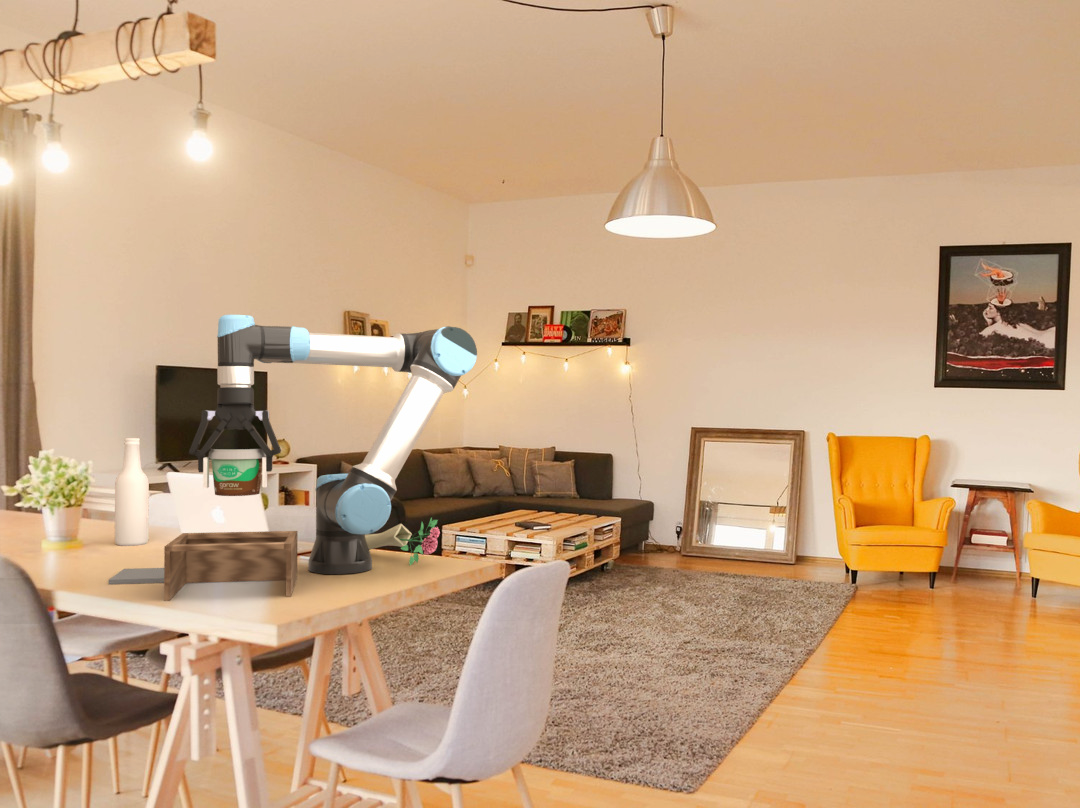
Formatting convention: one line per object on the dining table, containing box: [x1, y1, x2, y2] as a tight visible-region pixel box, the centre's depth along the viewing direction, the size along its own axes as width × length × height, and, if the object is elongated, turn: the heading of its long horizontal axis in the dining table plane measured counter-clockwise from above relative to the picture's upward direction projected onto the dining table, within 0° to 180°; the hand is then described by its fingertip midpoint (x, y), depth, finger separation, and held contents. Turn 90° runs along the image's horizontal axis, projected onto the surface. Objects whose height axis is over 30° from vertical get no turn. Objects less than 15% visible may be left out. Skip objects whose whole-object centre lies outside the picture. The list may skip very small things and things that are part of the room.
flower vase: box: [365, 516, 441, 567], centre depth 240 cm, size 12×12×35 cm
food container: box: [207, 447, 266, 497], centre depth 203 cm, size 12×6×10 cm, turn 98°
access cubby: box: [163, 530, 298, 602], centre depth 203 cm, size 25×20×11 cm
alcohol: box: [114, 437, 150, 547], centre depth 266 cm, size 9×9×30 cm
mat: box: [107, 567, 164, 585], centre depth 215 cm, size 14×14×1 cm
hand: (235, 487), depth 203 cm, fingers closed on food container, 11 cm apart
